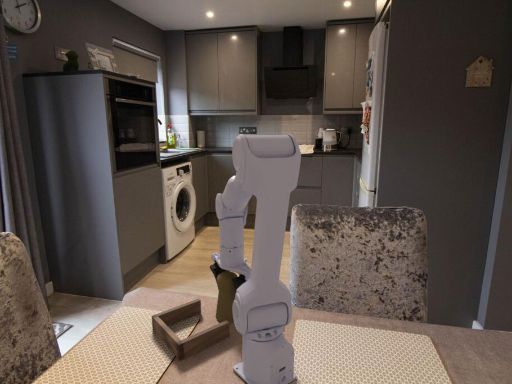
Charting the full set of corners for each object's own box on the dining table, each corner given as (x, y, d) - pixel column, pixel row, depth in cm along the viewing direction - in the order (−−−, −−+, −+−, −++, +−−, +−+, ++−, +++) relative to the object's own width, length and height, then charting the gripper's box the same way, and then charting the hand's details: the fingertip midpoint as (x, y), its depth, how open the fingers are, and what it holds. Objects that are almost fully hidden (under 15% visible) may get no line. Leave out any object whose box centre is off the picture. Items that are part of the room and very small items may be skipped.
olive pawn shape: (242, 309, 84) (241, 268, 82) (238, 323, 78) (238, 280, 76) (218, 308, 85) (217, 267, 82) (213, 322, 79) (212, 278, 77)
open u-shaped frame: (229, 336, 74) (229, 322, 73) (179, 360, 66) (178, 344, 65) (199, 311, 83) (198, 298, 83) (152, 329, 76) (151, 315, 75)
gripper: (265, 248, 75) (264, 304, 78) (227, 232, 86) (228, 281, 89) (240, 256, 71) (240, 315, 74) (204, 238, 82) (205, 290, 85)
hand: (232, 297), depth 81 cm, fingers open, 7 cm apart
